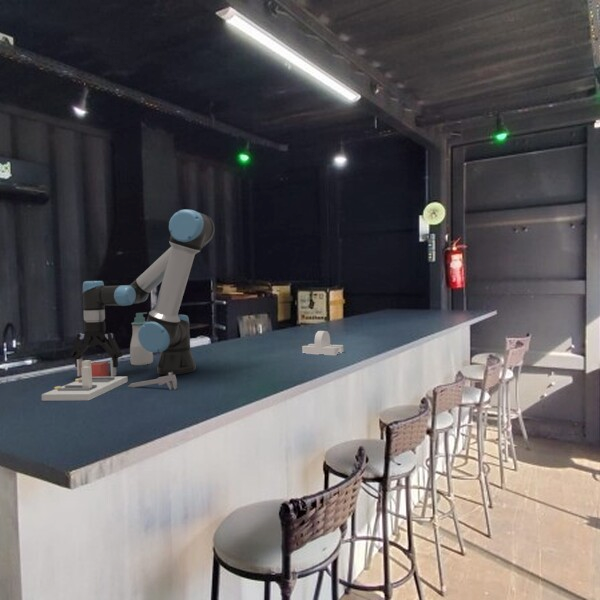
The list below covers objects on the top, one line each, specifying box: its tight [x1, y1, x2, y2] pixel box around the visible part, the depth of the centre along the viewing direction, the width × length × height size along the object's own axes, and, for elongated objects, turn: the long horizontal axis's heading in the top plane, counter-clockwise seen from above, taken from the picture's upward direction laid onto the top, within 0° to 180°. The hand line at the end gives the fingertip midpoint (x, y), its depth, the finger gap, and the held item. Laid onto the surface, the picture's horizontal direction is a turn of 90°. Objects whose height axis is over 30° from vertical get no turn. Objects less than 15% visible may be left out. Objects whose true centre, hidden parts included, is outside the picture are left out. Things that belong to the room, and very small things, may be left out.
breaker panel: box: [41, 376, 129, 402], centre depth 163 cm, size 16×26×3 cm, turn 174°
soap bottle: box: [129, 312, 154, 366], centre depth 211 cm, size 10×10×23 cm
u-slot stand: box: [301, 330, 344, 356], centre depth 225 cm, size 10×18×11 cm, turn 61°
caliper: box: [127, 372, 178, 391], centre depth 163 cm, size 20×1×6 cm, turn 69°
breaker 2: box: [81, 366, 92, 388], centre depth 156 cm, size 2×2×7 cm
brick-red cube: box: [91, 361, 110, 377], centre depth 182 cm, size 6×6×6 cm
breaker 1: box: [82, 359, 92, 372], centre depth 169 cm, size 2×2×7 cm
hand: (96, 375), depth 183 cm, fingers open, 13 cm apart
